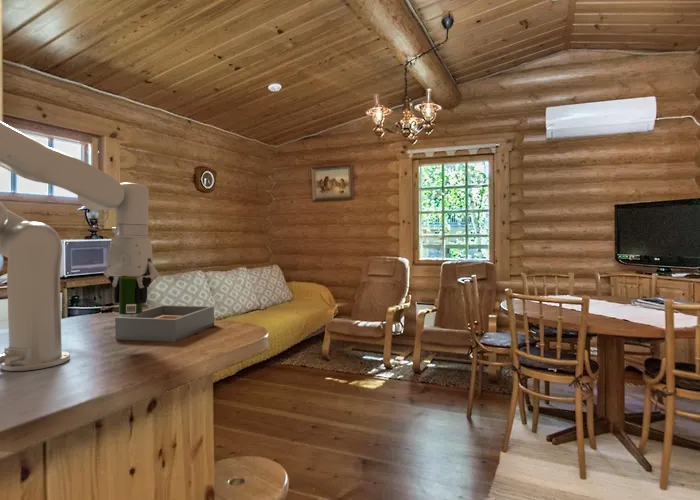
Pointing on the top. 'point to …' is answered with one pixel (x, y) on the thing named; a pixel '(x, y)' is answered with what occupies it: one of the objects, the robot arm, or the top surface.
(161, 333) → the walled box
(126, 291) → the beer can
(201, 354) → the top surface
